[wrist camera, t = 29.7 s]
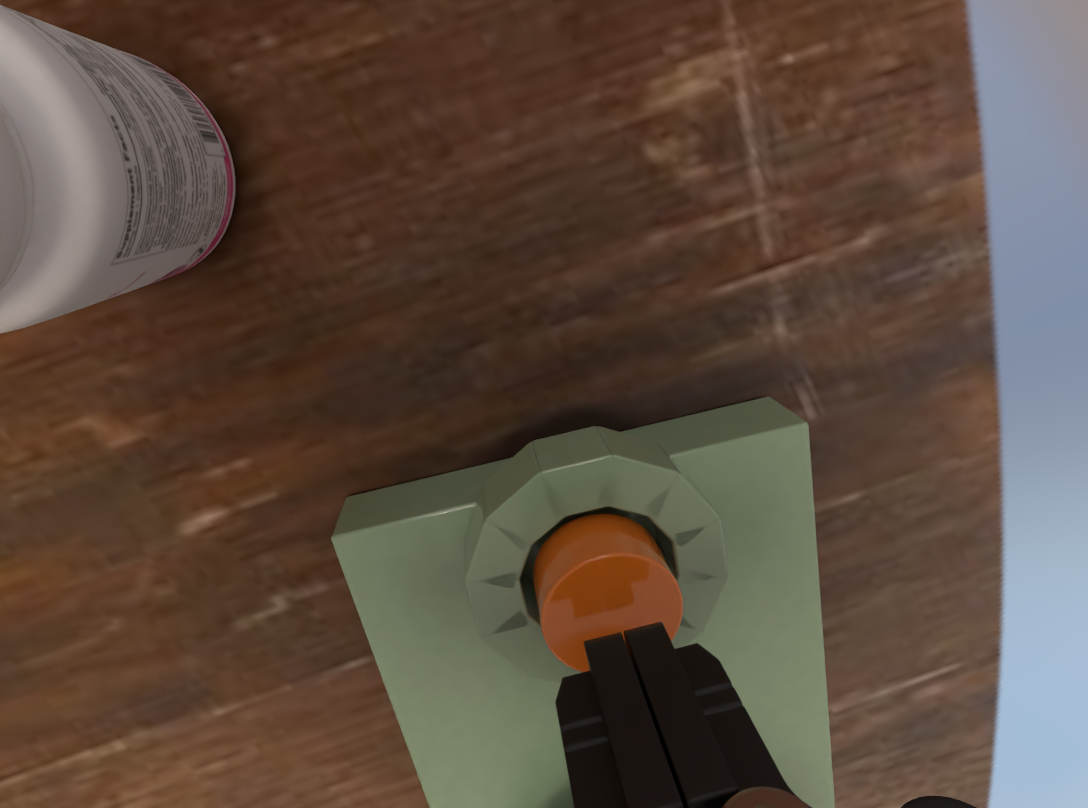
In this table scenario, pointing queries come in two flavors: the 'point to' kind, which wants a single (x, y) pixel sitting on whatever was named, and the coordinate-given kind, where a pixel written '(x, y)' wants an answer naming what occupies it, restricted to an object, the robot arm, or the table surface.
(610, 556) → the orange push button
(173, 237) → the pill bottle
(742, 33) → the table surface
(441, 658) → the base
